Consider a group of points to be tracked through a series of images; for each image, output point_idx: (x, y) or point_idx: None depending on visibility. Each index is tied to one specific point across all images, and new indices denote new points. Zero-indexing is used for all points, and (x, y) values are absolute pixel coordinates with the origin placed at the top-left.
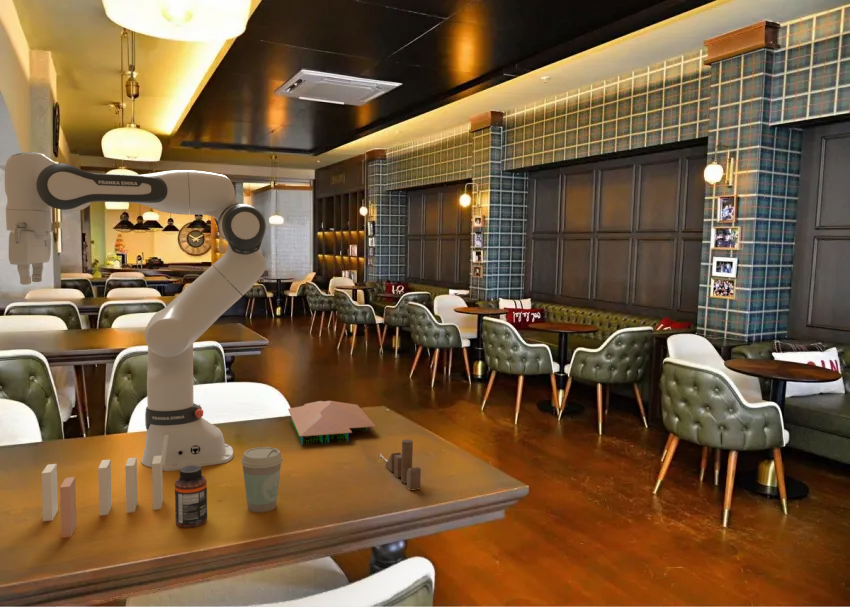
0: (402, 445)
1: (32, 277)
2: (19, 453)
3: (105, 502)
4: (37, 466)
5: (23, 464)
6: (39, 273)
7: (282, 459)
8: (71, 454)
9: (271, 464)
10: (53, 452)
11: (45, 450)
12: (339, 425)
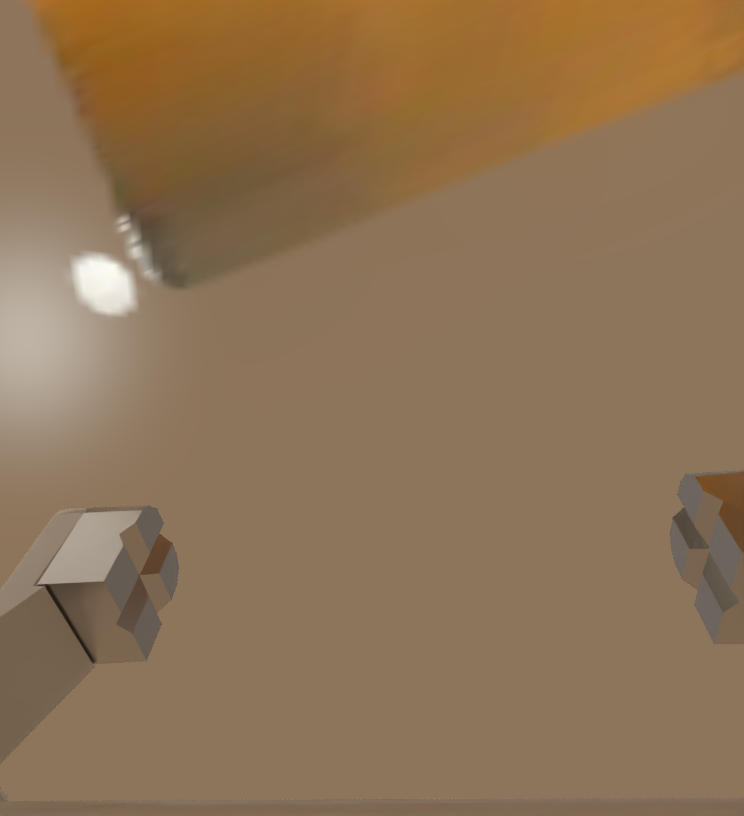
0: None
1: (157, 618)
2: (236, 238)
3: None
4: (357, 139)
5: (334, 189)
6: (36, 617)
7: None
8: (248, 69)
9: None
10: (228, 139)
11: (209, 173)
12: None
